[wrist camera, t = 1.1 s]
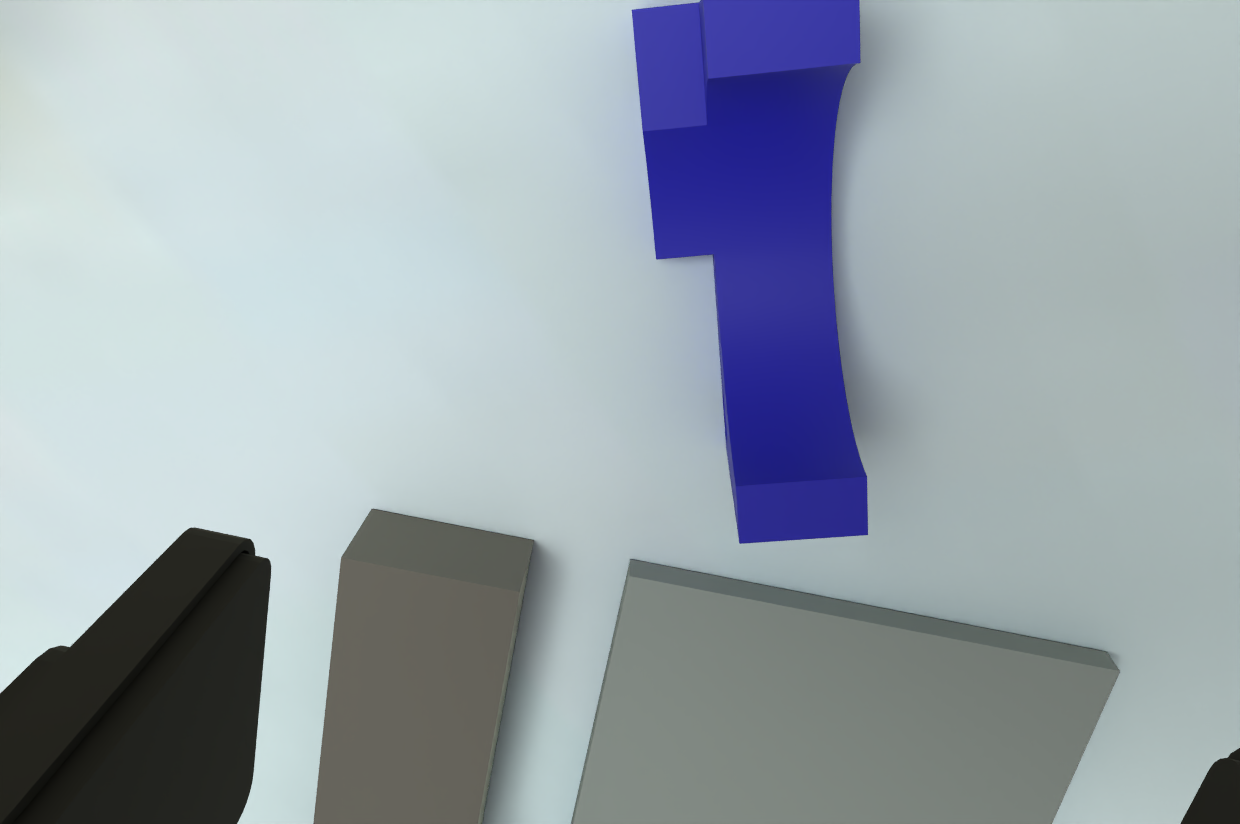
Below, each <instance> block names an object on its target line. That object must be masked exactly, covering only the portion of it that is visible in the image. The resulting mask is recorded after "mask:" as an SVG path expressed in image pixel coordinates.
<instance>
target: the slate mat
mask: <svg viewBox="0 0 1240 824" xmlns="http://www.w3.org/2000/svg"><path fill="white" fill-rule="evenodd" d="M1119 673H1120V670H1119V669H1118V667H1117V666H1116V665H1115V663H1114V662H1113V660H1112V659H1111V658H1110V656H1109V655H1108V653H1107V652H1105V651H1099V650H1094V649H1089V648H1084V647H1079V646H1074V645H1069V644H1063V643H1058V642H1053V641H1048V640H1043V639H1038V638H1033V637H1027V636H1022V635H1017V634H1012V633H1007V632H1002V631H997V630H991V629H986V628H981V627H976V626H971V625H966V624H961V623H955V622H950V621H945V620H940V619H935V618H930V617H925V616H919V615H914V614H909V613H904V612H899V611H894V610H889V609H883V608H878V607H873V606H868V605H863V604H858V603H853V602H847V601H842V600H837V599H832V598H827V597H822V596H817V595H811V594H806V593H801V592H796V591H791V590H786V589H781V588H775V587H770V586H765V585H760V584H755V583H750V582H745V581H740V580H734V579H729V578H724V577H719V576H714V575H709V574H704V573H698V572H693V571H688V570H683V569H678V568H673V567H668V566H662V565H657V564H652V563H647V562H642V561H637V560H632V559H630V563H629V567H628V572H627V576H626V581H625V585H624V590H623V594H622V599H621V603H620V608H619V612H618V616H617V621H616V625H615V630H614V634H613V639H612V643H611V648H610V652H609V657H608V661H607V665H606V670H605V674H604V679H603V683H602V688H601V692H600V697H599V701H598V706H597V710H596V714H595V719H594V723H593V728H592V732H591V737H590V741H589V746H588V750H587V755H586V759H585V763H584V768H583V772H582V777H581V781H580V786H579V790H578V795H577V799H576V804H575V808H574V813H573V817H572V821H571V824H1052V822H1053V820H1054V817H1055V815H1056V813H1057V811H1058V809H1059V806H1060V804H1061V802H1062V800H1063V797H1064V795H1065V793H1066V791H1067V789H1068V786H1069V784H1070V782H1071V780H1072V777H1073V775H1074V773H1075V771H1076V769H1077V766H1078V764H1079V762H1080V760H1081V757H1082V755H1083V753H1084V751H1085V748H1086V746H1087V744H1088V742H1089V740H1090V737H1091V735H1092V733H1093V731H1094V728H1095V726H1096V724H1097V722H1098V720H1099V717H1100V715H1101V713H1102V711H1103V708H1104V706H1105V704H1106V702H1107V699H1108V697H1109V695H1110V693H1111V691H1112V688H1113V686H1114V684H1115V682H1116V679H1117V677H1118V675H1119Z"/></svg>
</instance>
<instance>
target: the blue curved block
mask: <svg viewBox="0 0 1240 824" xmlns="http://www.w3.org/2000/svg"><path fill="white" fill-rule="evenodd" d="M632 17H633V28H634V40H635V51H636V62H637V73H638V84H639V95H640V106H641V117H642V128H643V137H644V145H645V154H646V162H647V171H648V180H649V190H650V199H651V209H652V220H653V230H654V241H655V251H656V259H667V258H678V257H689V256H700V255H711V254H713V264H714V279H715V293H716V307H717V322H718V336H719V351H720V365H721V379H722V394H723V408H724V423H725V437H726V450H727V457H728V464H729V471H730V479H731V486H732V493H733V500H734V507H735V515H736V522H737V529H738V536H739V543H740V544H741V543H756V542H771V541H785V540H800V539H815V538H830V537H844V536H859V535H868V510H867V476H866V473H865V471H864V468H863V465H862V462H861V459H860V456H859V453H858V449H857V446H856V442H855V438H854V434H853V430H852V425H851V420H850V416H849V410H848V405H847V400H846V394H845V387H844V381H843V374H842V367H841V359H840V351H839V343H838V333H837V323H836V312H835V299H834V284H833V265H832V235H831V194H832V166H833V150H834V138H835V129H836V121H837V114H838V108H839V102H840V98H841V93H842V89H843V86H844V82H845V80H846V77H847V75H848V73H849V71H850V69H851V68H852V67H853V66H854V65H855V64H857V63H860V10H859V0H701V1H700V2H699V3H690V4H681V5H672V6H663V7H654V8H645V9H636V10H632Z"/></svg>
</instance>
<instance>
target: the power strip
mask: <svg viewBox="0 0 1240 824" xmlns="http://www.w3.org/2000/svg"><path fill="white" fill-rule="evenodd" d="M533 542H534V540H529V539H524V538H518V537H513V536H508V535H503V534H498V533H493V532H488V531H482V530H477V529H472V528H467V527H462V526H457V525H452V524H446V523H441V522H436V521H431V520H426V519H421V518H416V517H411V516H405V515H400V514H395V513H390V512H385V511H380V510H375V509H371V511H370V513H369V514H368V516H367V517H366V519H365V521H364V522H363V524H362V525H361V527H360V529H359V530H358V532H357V533H356V535H355V536H354V538H353V540H352V541H351V543H350V544H349V546H348V548H347V549H346V551H345V552H344V554H343V556H342V557H341V565H340V574H339V584H338V594H337V603H336V613H335V622H334V632H333V642H332V651H331V661H330V670H329V680H328V690H327V699H326V709H325V718H324V728H323V738H322V747H321V757H320V767H319V776H318V786H317V795H316V805H315V815H314V824H482V821H483V815H484V810H485V804H486V799H487V794H488V788H489V783H490V777H491V772H492V766H493V761H494V755H495V750H496V744H497V739H498V733H499V728H500V722H501V717H502V711H503V706H504V701H505V695H506V690H507V684H508V679H509V673H510V668H511V662H512V657H513V651H514V646H515V640H516V635H517V629H518V624H519V618H520V613H521V608H522V602H523V597H524V591H525V586H526V580H527V575H528V569H529V564H530V558H531V553H532V547H533Z"/></svg>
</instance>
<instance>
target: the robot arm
mask: <svg viewBox="0 0 1240 824" xmlns="http://www.w3.org/2000/svg"><path fill="white" fill-rule="evenodd" d="M270 579H271V564H270V561H269V559H268V558H263V557H259V556H255V548H254V543H253V542H252V541H251V539H247V538H243V537H238V536H233V535H228V534H223V533H219V532H214V531H209V530H204V529H199V528H189V529H188V530H186V531H185V532H184V533H183V534H182V535H181V536H180V537H179V538H178V539H177V540H176V541H175V542H174V543H173V544H172V545H171V546H170V547H169V548H168V549H167V550H166V551H165V552H164V553H163V554H162V555H161V556H160V557H159V558H158V559H157V560H156V561H155V562H154V563H153V564H152V565H151V566H150V567H149V568H148V569H147V570H146V571H145V572H144V573H143V574H142V575H141V576H140V577H139V578H138V579H137V580H136V581H135V582H134V583H133V584H132V585H131V586H130V587H129V588H128V589H127V590H126V591H125V592H124V593H123V594H122V595H121V596H120V597H119V598H118V599H117V600H116V601H115V602H114V603H113V604H112V605H111V606H110V607H109V608H108V609H107V610H106V611H105V612H104V613H103V614H102V615H101V616H100V617H99V618H98V619H97V620H96V621H95V622H94V624H93V625H92V626H91V627H90V628H89V629H88V630H87V631H86V632H85V633H84V634H83V635H82V636H81V637H80V638H79V639H78V640H77V641H76V642H75V643H74V644H73V645H72V646H71V647H66V646H58V647H54V648H50V649H48V650H47V651H46V652H44V653H43V654H42V655H40V656H39V657H38V658H36V659H35V660H34V661H33V662H32V663H31V664H30V665H29V666H28V667H27V668H26V669H25V670H24V671H23V672H22V673H21V674H20V675H19V676H18V677H17V678H16V679H15V680H14V681H13V682H12V683H11V684H10V685H9V686H8V687H7V688H6V689H5V690H4V691H3V692H1V693H0V824H237V822H238V821H239V819H240V817H241V815H242V813H243V810H244V808H245V805H246V803H247V800H248V796H249V793H250V789H251V785H252V780H253V772H254V760H255V749H256V738H257V726H258V715H259V704H260V692H261V681H262V670H263V659H264V647H265V636H266V625H267V613H268V602H269V591H270ZM1181 824H1240V748H1239V749H1237V750H1236V751H1234V752H1233V753H1231V754H1230V756H1229V757H1228V758H1223V759H1219V760H1218V761H1216V762H1215V763H1214V764H1213V765H1212V767H1211V768H1210V769H1209V771H1208V773H1207V775H1206V777H1205V779H1204V780H1203V782H1202V784H1201V786H1200V788H1199V790H1198V792H1197V794H1196V796H1195V797H1194V799H1193V801H1192V803H1191V805H1190V807H1189V809H1188V811H1187V813H1186V814H1185V816H1184V818H1183V820H1182V822H1181Z"/></svg>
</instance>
